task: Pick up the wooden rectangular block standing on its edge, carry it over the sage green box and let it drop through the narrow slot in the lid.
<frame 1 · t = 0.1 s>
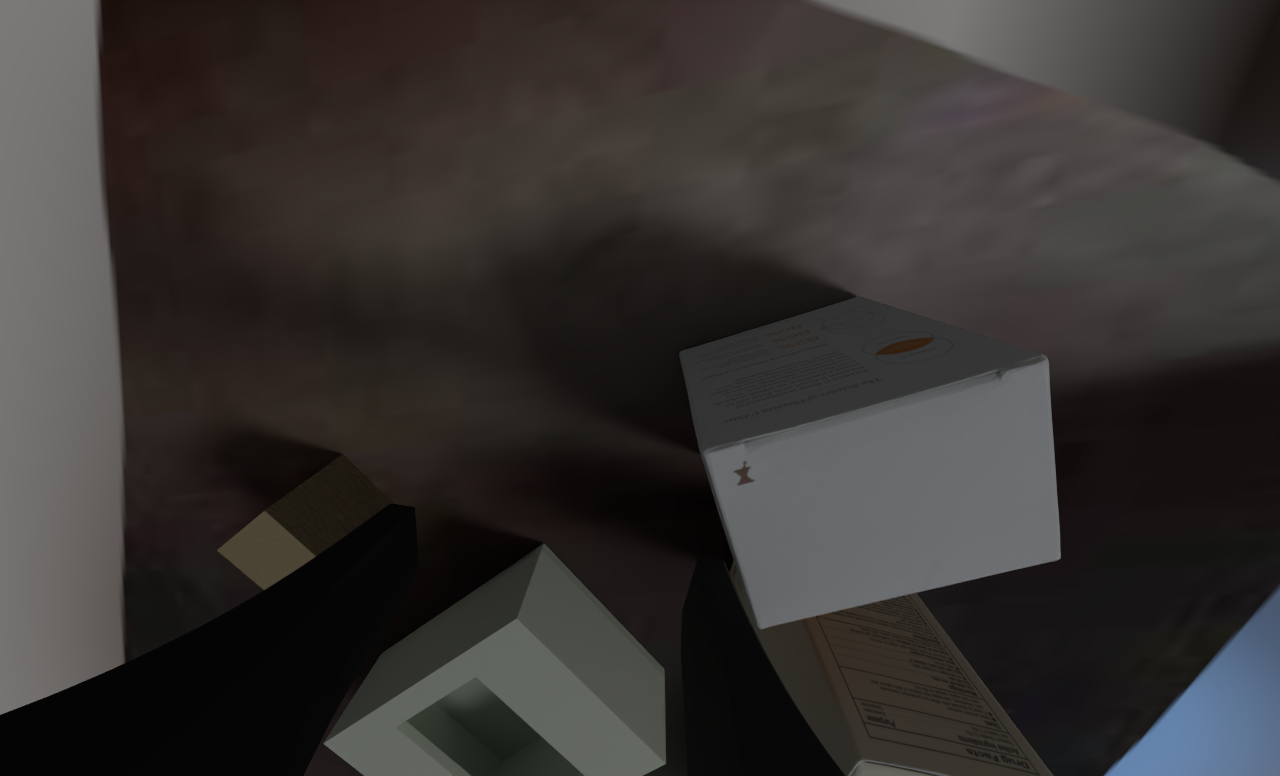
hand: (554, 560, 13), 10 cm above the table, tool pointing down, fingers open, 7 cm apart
skincare box: (800, 548, 25), on the table
wooden rectangular block: (361, 506, 25), on the table
small box: (780, 379, 22), on the table
slot box: (522, 661, 27), on the table
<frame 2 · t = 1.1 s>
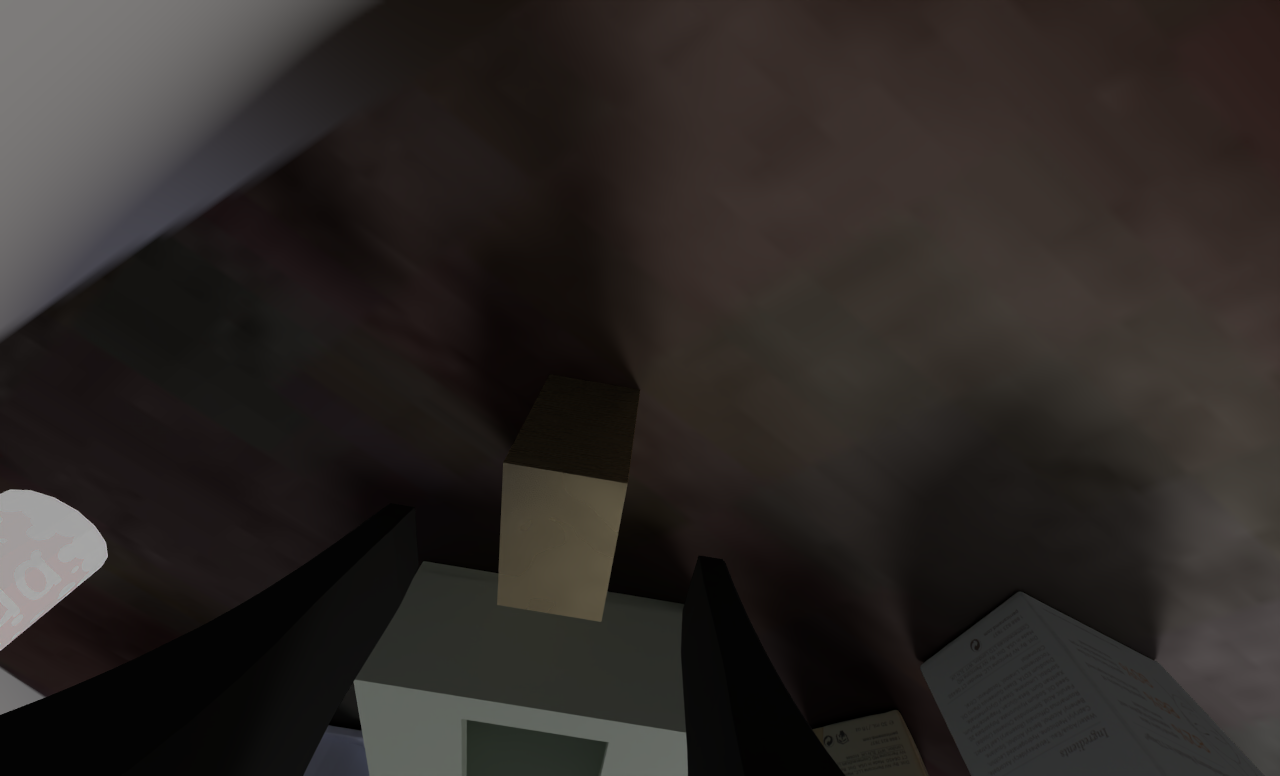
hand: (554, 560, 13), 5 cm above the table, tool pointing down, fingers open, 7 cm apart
beverage cup: (56, 529, 21), on the table
skincare box: (870, 745, 25), on the table
wooden rectangular block: (586, 444, 17), on the table
small box: (1031, 656, 21), on the table
slot box: (557, 660, 23), on the table
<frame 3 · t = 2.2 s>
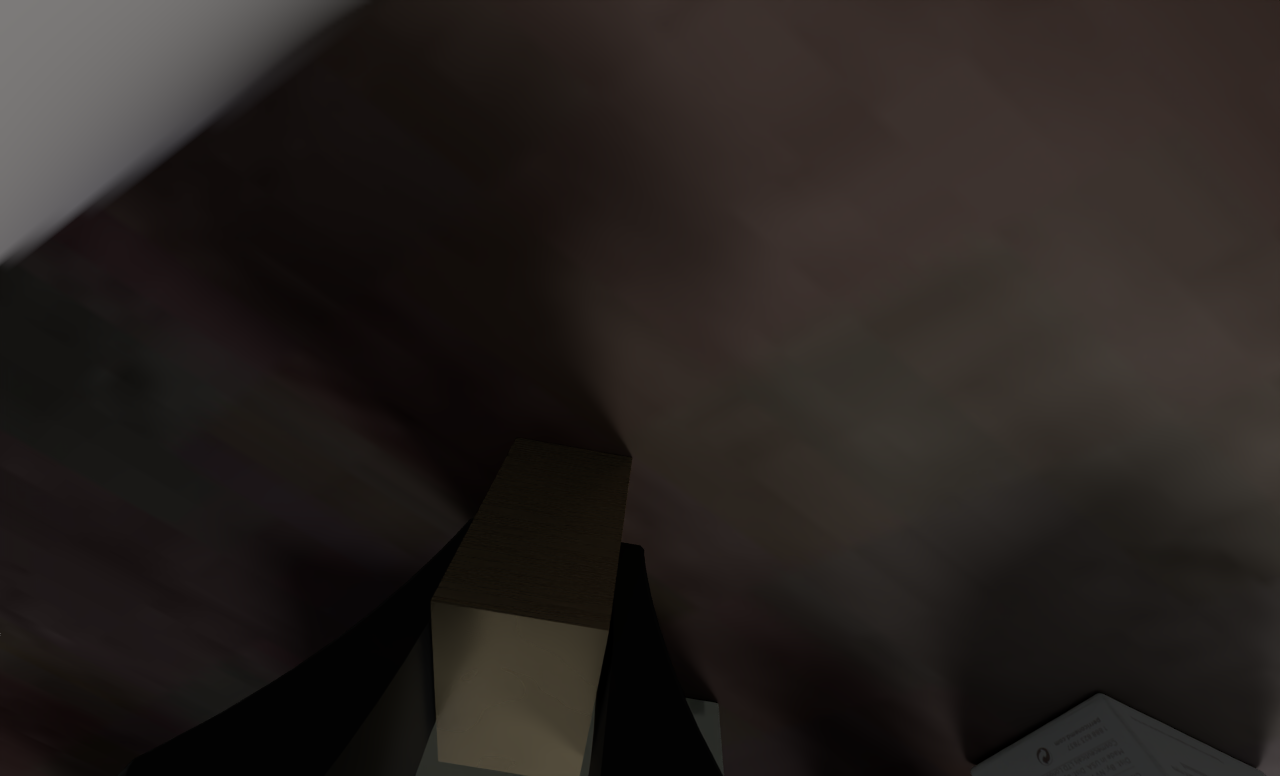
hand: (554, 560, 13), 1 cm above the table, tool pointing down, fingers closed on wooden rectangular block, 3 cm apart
wooden rectangular block: (565, 520, 14), on the table, touching gripper
small box: (1105, 759, 18), on the table
slot box: (537, 753, 19), on the table
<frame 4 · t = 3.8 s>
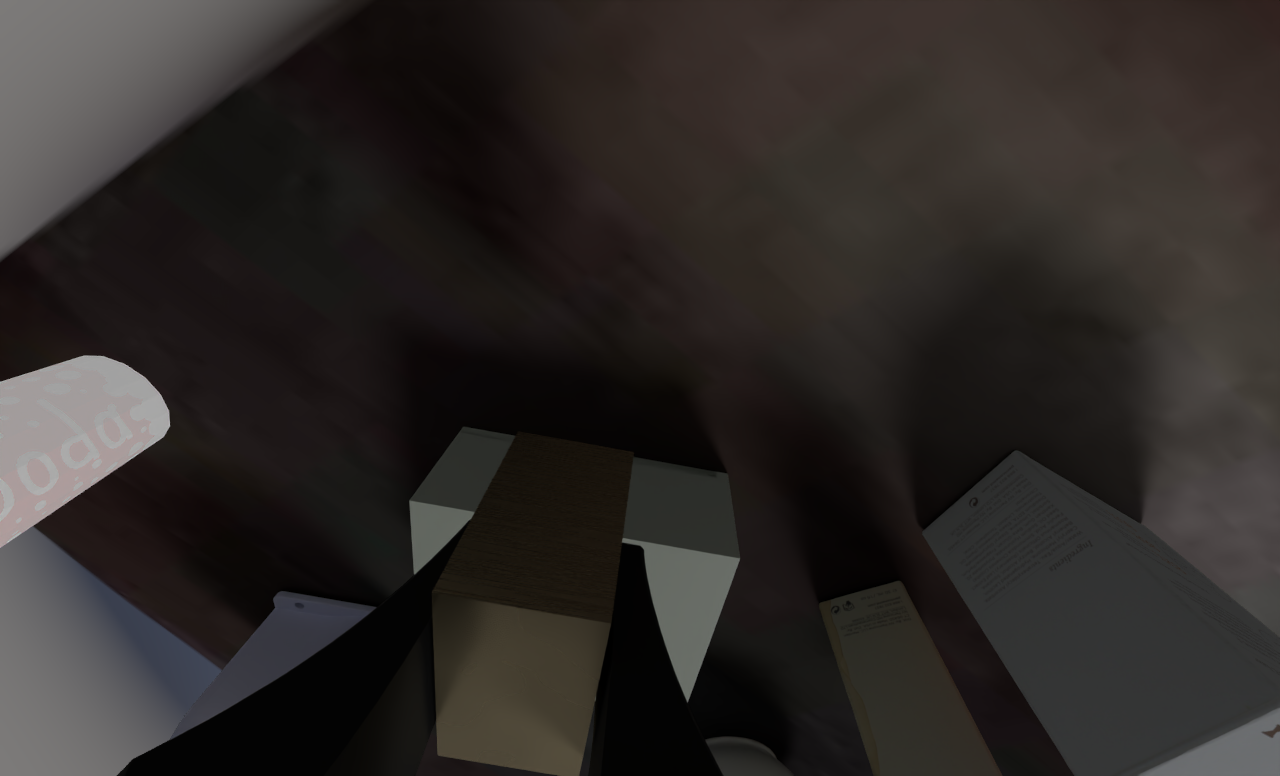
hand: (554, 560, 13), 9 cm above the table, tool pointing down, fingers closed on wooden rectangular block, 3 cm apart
beverage cup: (122, 399, 23), on the table
lidded jar: (730, 758, 33), on the table
skincare box: (874, 622, 26), on the table
wooden rectangular block: (566, 515, 14), point 8 cm above the table, touching gripper
small box: (1026, 523, 23), on the table
slot box: (583, 532, 24), on the table
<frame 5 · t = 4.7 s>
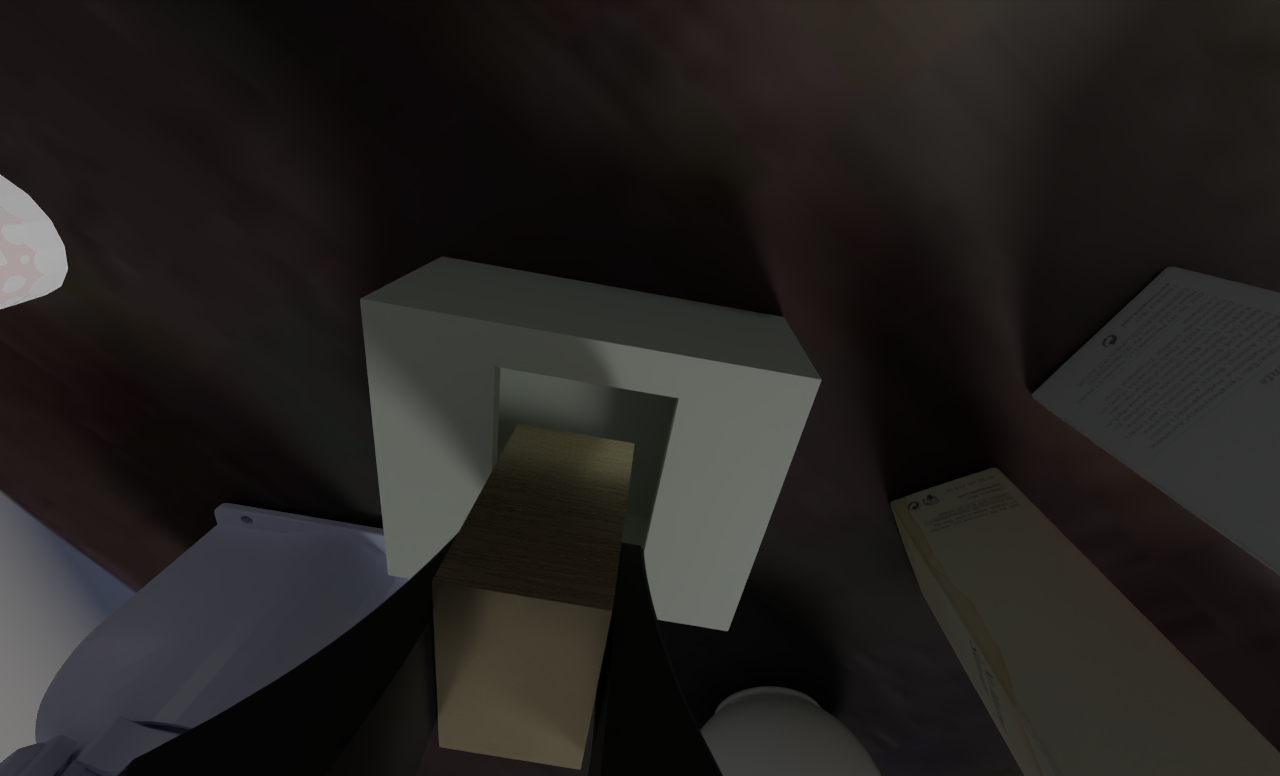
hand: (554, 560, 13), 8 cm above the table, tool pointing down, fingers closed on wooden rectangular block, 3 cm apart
beverage cup: (5, 232, 18), on the table
lidded jar: (767, 715, 28), on the table
skincare box: (955, 530, 21), on the table
wooden rectangular block: (567, 508, 14), point 6 cm above the table, touching gripper
small box: (1164, 382, 18), on the table
slot box: (596, 410, 19), on the table
when the fingers open (6 cm above the table, at t = 5.3 s): wooden rectangular block drops 4 cm, resting on slot box.
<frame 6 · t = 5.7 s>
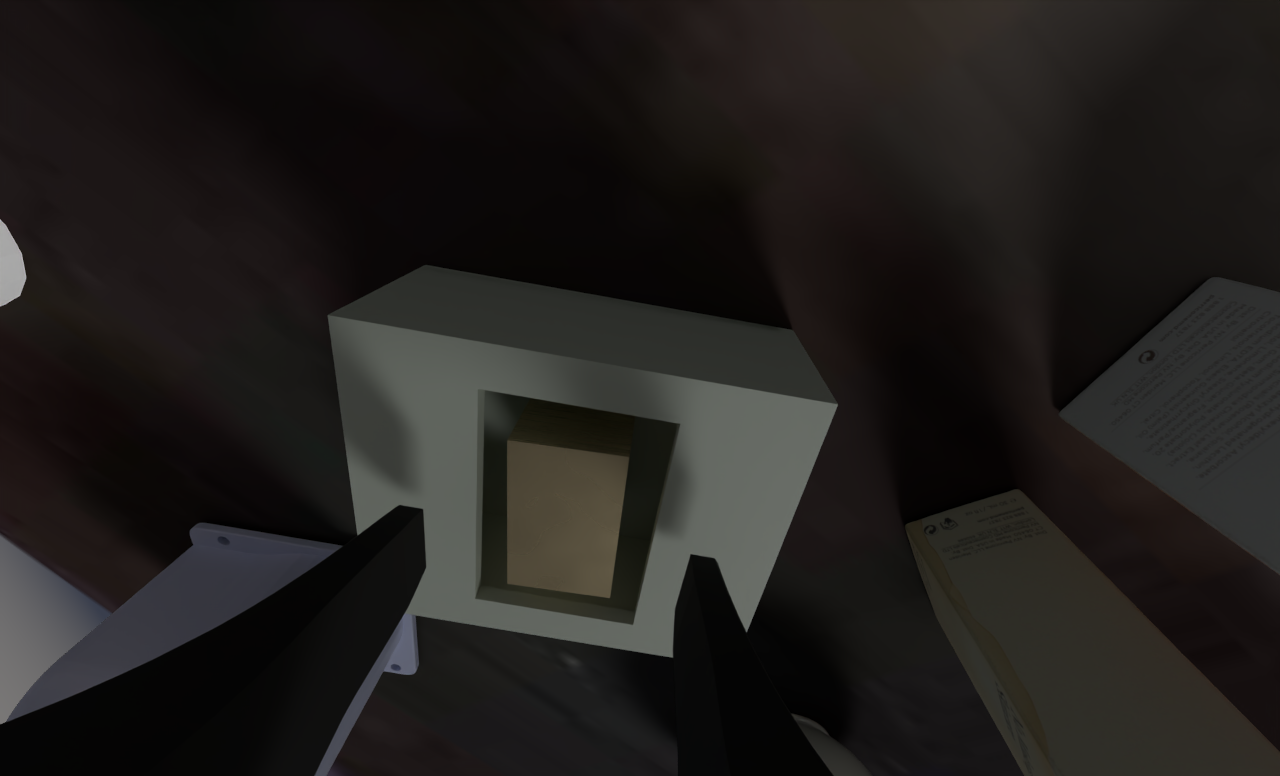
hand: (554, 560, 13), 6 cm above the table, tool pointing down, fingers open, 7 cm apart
lidded jar: (772, 740, 27), on the table
skincare box: (973, 553, 20), on the table
wooden rectangular block: (591, 427, 18), resting on slot box
small box: (1202, 400, 17), on the table
slot box: (592, 427, 18), on the table
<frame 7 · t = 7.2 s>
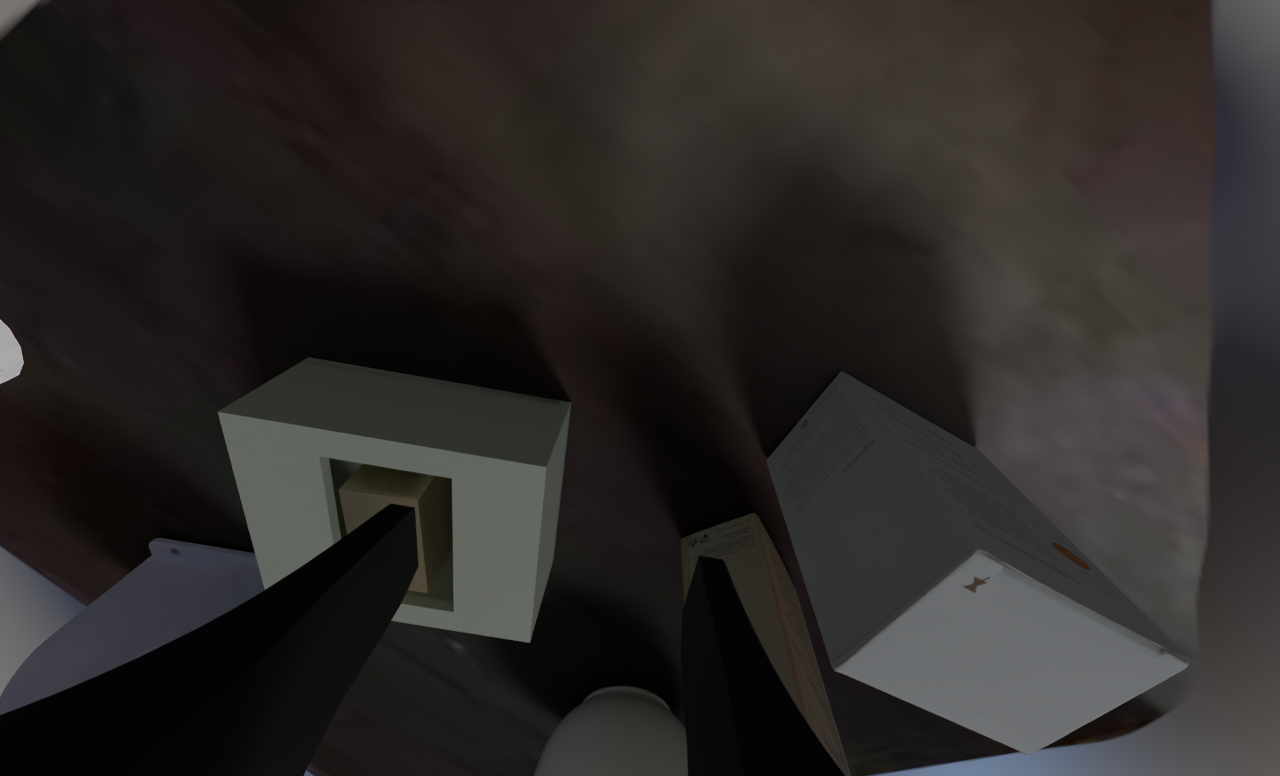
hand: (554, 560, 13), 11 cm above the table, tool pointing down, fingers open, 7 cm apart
lidded jar: (626, 710, 33), on the table
skincare box: (740, 560, 27), on the table
wooden rectangular block: (438, 469, 24), resting on slot box
small box: (868, 450, 23), on the table
slot box: (442, 468, 25), on the table
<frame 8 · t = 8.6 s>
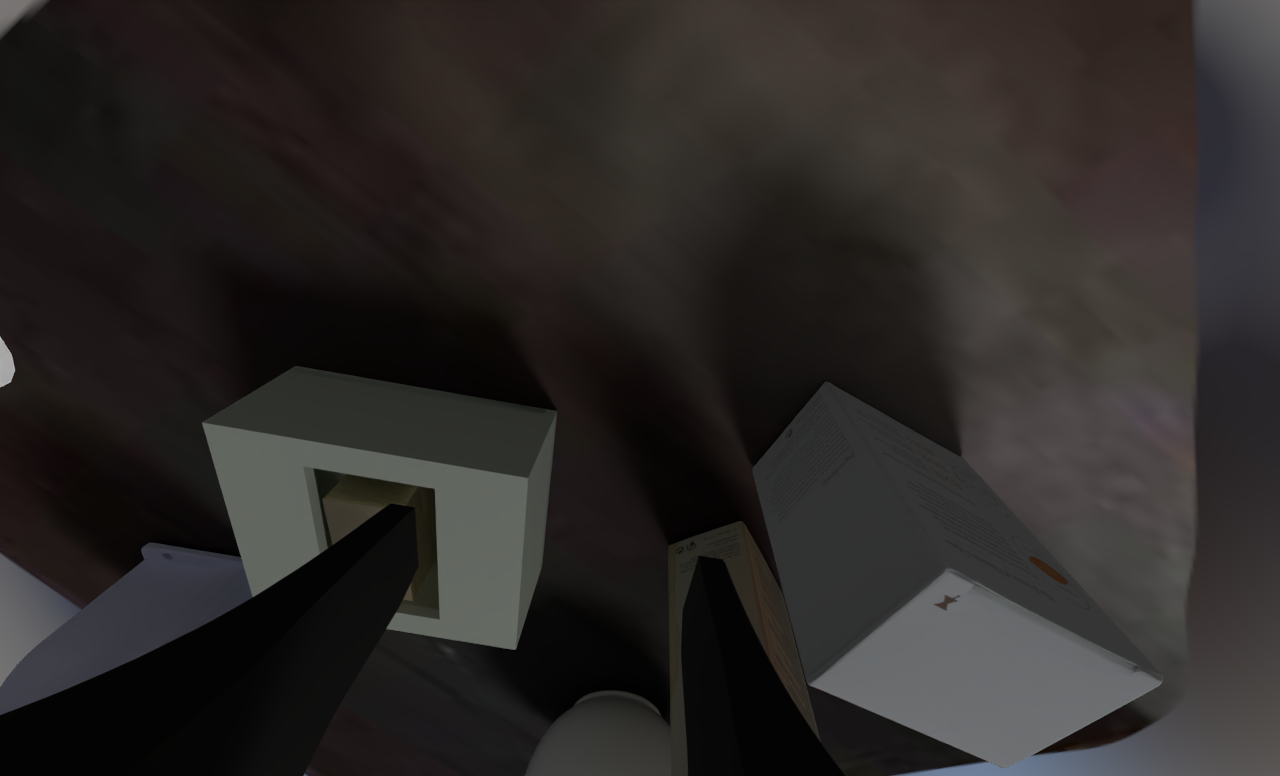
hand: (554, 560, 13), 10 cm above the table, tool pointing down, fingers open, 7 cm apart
lidded jar: (616, 714, 33), on the table
skincare box: (728, 567, 27), on the table
wooden rectangular block: (426, 476, 24), resting on slot box
small box: (854, 459, 23), on the table
slot box: (430, 475, 25), on the table
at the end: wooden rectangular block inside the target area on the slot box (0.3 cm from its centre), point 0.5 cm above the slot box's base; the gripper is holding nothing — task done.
